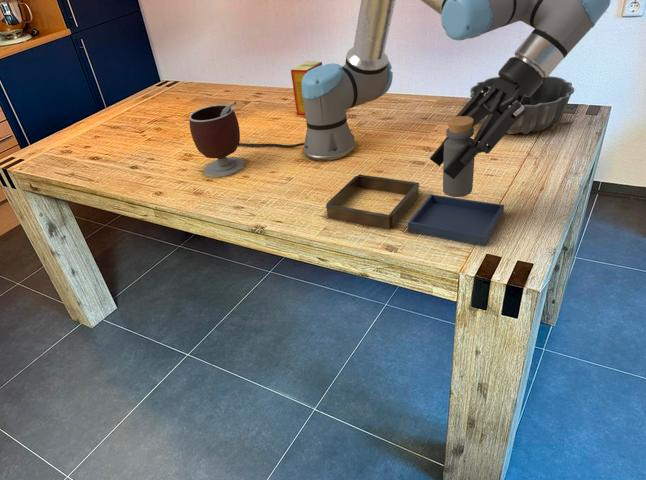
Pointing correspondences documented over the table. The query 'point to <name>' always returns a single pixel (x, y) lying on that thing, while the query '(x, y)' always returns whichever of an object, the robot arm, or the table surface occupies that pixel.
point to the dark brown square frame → (369, 217)
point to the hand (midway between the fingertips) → (441, 168)
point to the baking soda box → (297, 83)
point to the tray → (456, 219)
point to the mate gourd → (217, 138)
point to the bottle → (458, 138)
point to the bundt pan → (538, 104)
